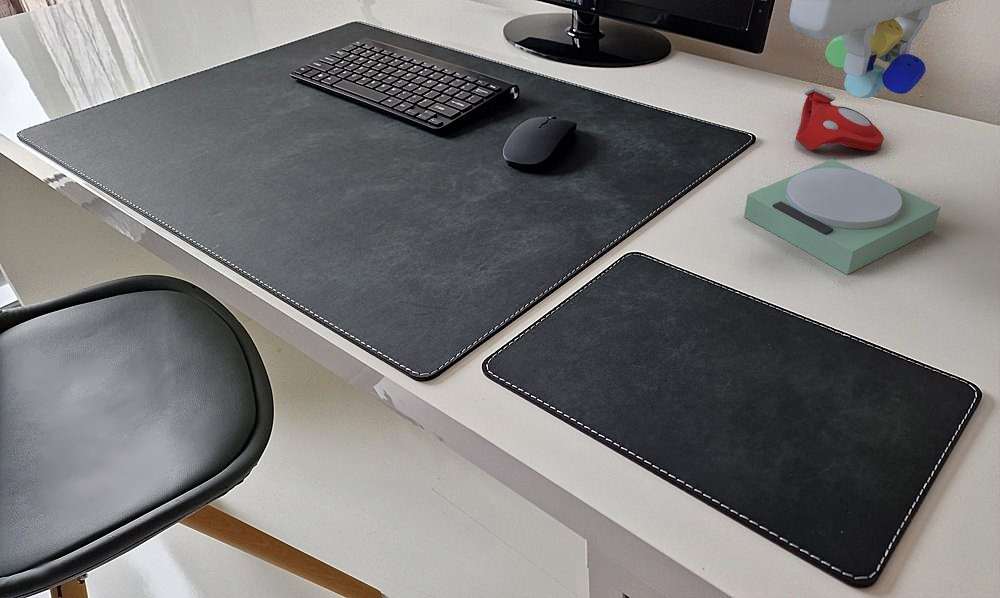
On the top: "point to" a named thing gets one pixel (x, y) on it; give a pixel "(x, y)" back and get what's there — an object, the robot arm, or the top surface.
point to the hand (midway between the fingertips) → (875, 66)
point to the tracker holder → (835, 124)
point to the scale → (841, 214)
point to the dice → (894, 78)
